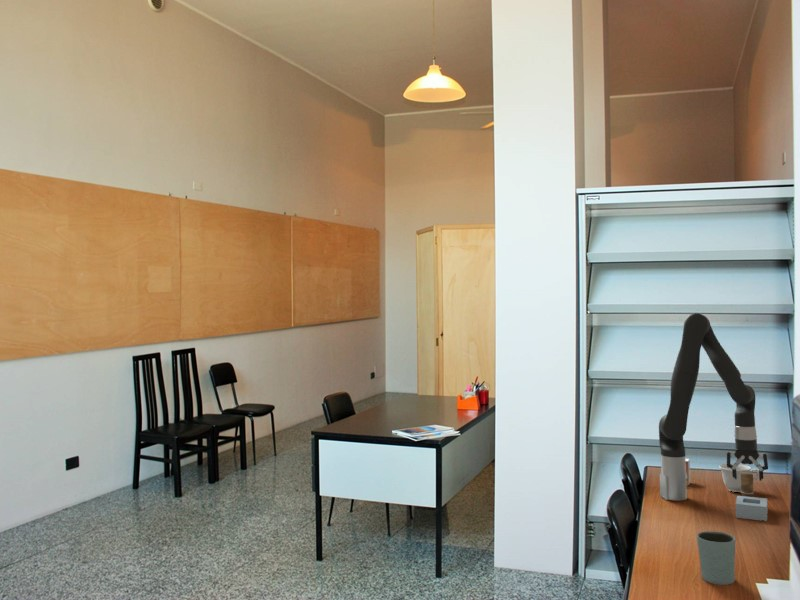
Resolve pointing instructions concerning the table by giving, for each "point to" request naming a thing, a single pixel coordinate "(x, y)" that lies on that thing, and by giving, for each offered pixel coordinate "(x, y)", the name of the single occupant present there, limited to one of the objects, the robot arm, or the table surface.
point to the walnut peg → (747, 484)
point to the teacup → (734, 483)
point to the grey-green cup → (717, 557)
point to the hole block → (751, 508)
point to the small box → (687, 471)
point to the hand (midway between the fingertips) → (747, 479)
